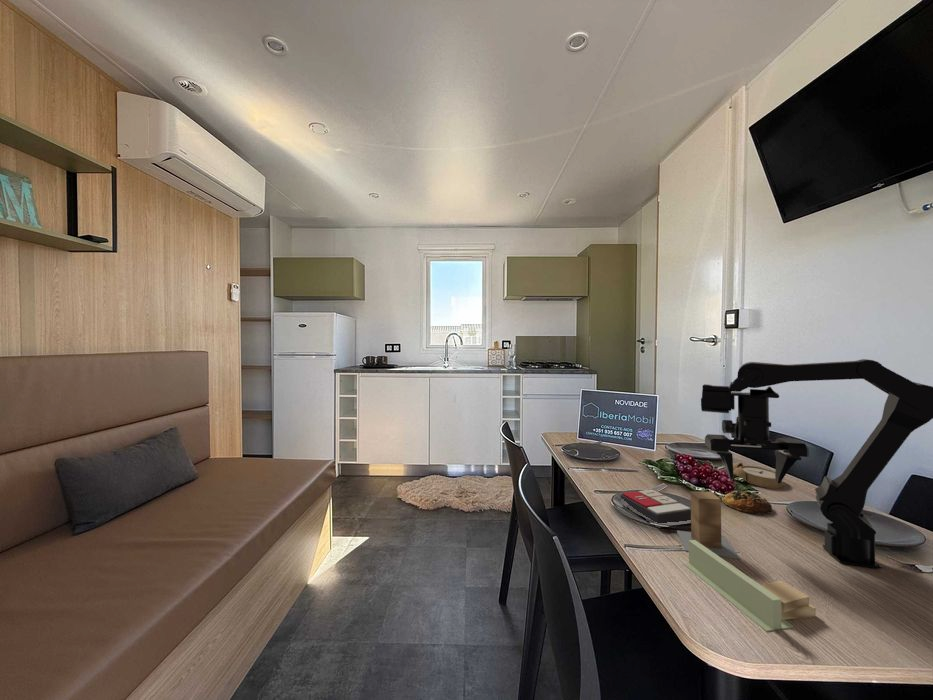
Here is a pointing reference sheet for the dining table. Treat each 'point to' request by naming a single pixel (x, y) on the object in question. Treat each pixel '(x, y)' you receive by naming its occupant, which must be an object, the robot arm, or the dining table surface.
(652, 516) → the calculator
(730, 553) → the felt pad
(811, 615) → the offcut lower
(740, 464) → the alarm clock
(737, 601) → the green flanged rail
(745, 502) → the bread roll
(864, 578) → the dining table surface
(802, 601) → the offcut upper
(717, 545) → the brown wooden block
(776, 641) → the dining table surface
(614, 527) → the dining table surface
